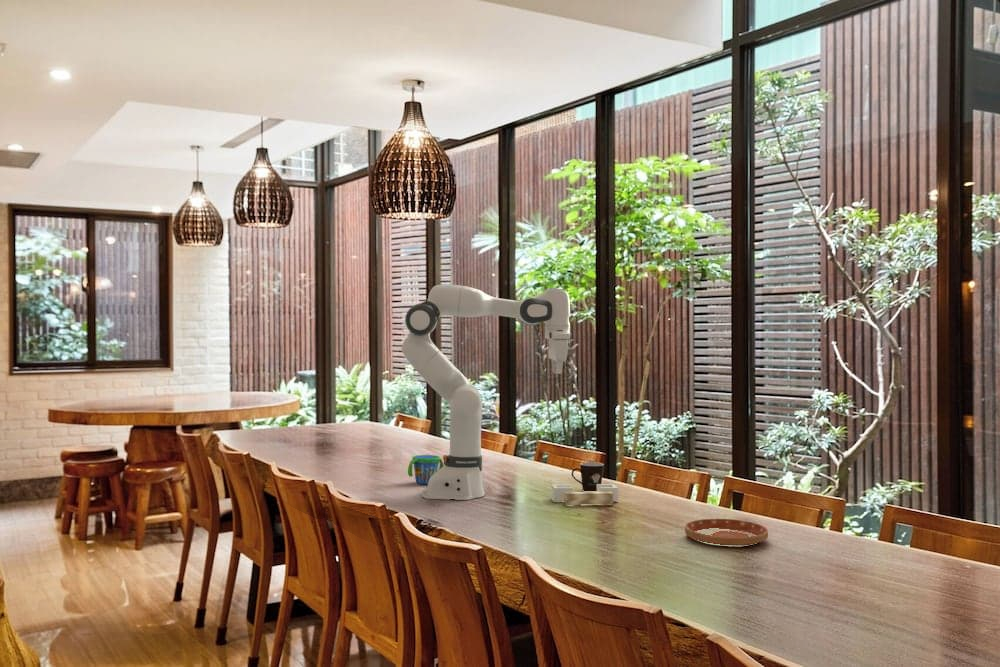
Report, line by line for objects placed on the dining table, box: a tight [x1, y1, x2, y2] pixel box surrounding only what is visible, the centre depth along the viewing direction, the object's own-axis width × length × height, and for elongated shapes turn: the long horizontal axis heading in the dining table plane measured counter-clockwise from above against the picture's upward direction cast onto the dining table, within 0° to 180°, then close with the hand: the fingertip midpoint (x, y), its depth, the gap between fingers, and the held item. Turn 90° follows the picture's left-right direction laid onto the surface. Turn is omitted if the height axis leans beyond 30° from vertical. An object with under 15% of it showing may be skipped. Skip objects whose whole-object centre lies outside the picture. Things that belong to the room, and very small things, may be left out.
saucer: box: [684, 518, 769, 545], centre depth 242 cm, size 23×23×4 cm
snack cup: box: [407, 454, 444, 486], centre depth 323 cm, size 16×10×10 cm
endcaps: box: [551, 483, 619, 503], centre depth 294 cm, size 22×7×5 cm, turn 94°
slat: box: [563, 491, 614, 506], centre depth 286 cm, size 16×3×4 cm, turn 95°
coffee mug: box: [571, 461, 605, 491], centre depth 311 cm, size 12×9×10 cm
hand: (557, 372), depth 301 cm, fingers open, 8 cm apart
